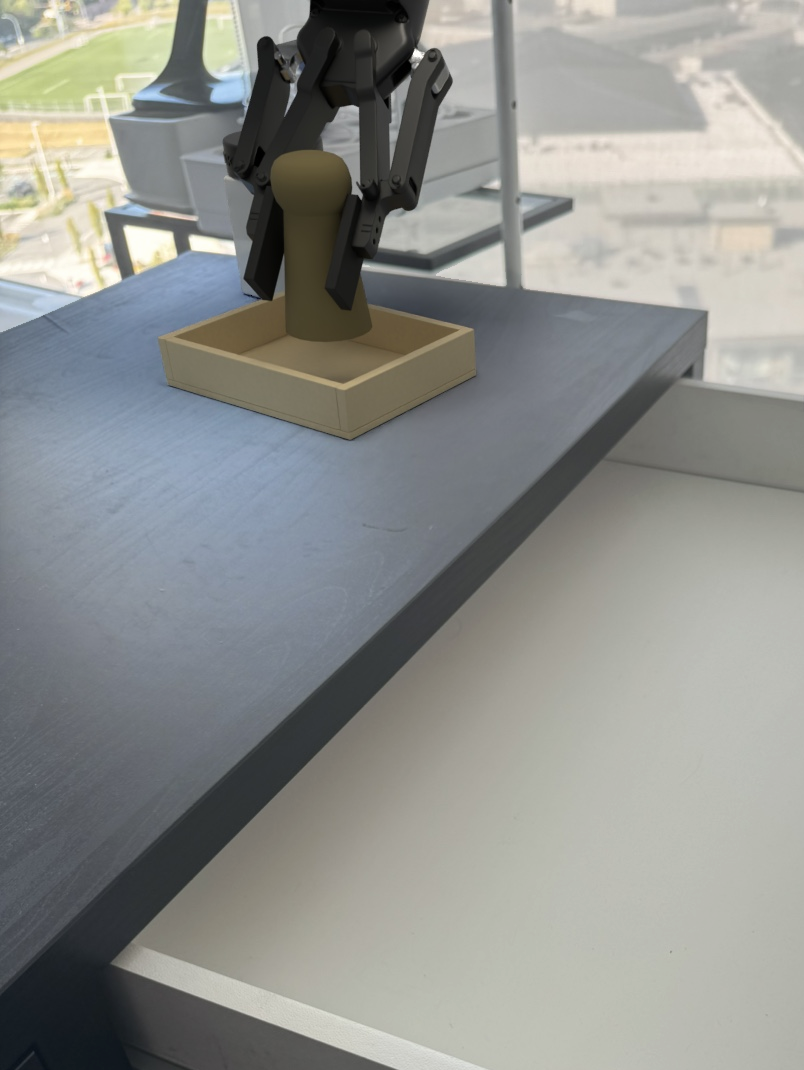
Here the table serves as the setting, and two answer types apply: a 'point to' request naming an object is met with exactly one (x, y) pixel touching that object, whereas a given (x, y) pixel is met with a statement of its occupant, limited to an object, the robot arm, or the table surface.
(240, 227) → the jar
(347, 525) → the table surface
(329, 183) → the cork
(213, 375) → the tray
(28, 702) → the table surface
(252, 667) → the table surface
